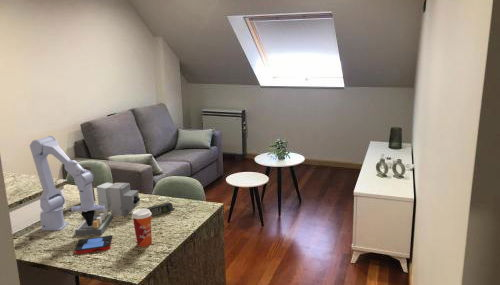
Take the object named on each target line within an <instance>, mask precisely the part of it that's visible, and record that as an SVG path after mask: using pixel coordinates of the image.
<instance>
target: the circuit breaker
mask: <svg viewBox="0 0 500 285" xmlns="http://www.w3.org/2000/svg"><path fill="white" fill-rule="evenodd" d="M112 184H113V185H111V186H110V187H108V196H110V200H111V206H110V210H109V212H110V213H109V214H113V217H114V216H118V217H126V216H127V215H129V214H130V213H131V212H133V210H134V209H136V208H137V207H138V206H139V205H140V200H141V198H140V194H139V190H135V189H131V184H130V183H129V182H115V183H112ZM109 193H110V194H109Z"/></svg>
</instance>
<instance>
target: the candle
mask: <svg viewBox="0 0 500 285" xmlns="http://www.w3.org/2000/svg"><path fill="white" fill-rule="evenodd" d="M81 167H82V168H83V169H86V170H89V171H91V172H92V167H91V166H84V167H83V166H81ZM92 173H93V172H92ZM91 183H92V189H93V197H94V202H95V201H96V194H95V187H94V181H93V182H91Z"/></svg>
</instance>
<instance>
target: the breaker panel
mask: <svg viewBox="0 0 500 285" xmlns="http://www.w3.org/2000/svg"><path fill="white" fill-rule="evenodd" d="M94 220H98V225H99V227H98V228H94V227H93V225H92V226H88V224H87V222H86V220H85V219H83V221H82V222H81V223H80V224H79V225H78V226H77V227H76V229H75V230H74V233H75V234H74V235H75V236H102V235H103V234H104V233H105V231H106V230H107V228H108V227H109V225H111V223H112V221H113V220H114V216H113V214H111V213H109V211H108V209H105V210H104V211H102V212H100V213H99V214H94V218H93V222H94Z"/></svg>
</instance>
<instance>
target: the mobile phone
mask: <svg viewBox="0 0 500 285" xmlns="http://www.w3.org/2000/svg"><path fill="white" fill-rule="evenodd" d="M146 209H149V210H150V212H151V213H152V214H151V218H152V217H156V216H159V215H165V214H167V213H170V212H171V211H173V210H175V207H173V204H172V202H170V201H169V202H163V203H159V204H157V205H153V206H149V207H147V208H146Z"/></svg>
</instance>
